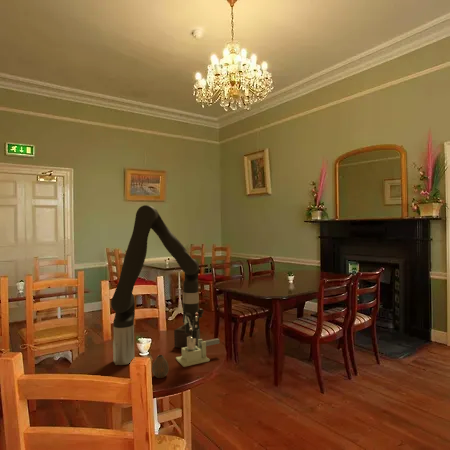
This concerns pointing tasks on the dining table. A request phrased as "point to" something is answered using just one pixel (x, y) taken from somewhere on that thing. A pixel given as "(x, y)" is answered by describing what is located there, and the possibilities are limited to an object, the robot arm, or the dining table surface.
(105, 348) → the dining table surface
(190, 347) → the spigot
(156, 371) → the vase
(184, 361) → the dock
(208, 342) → the pin
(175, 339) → the dark piece
